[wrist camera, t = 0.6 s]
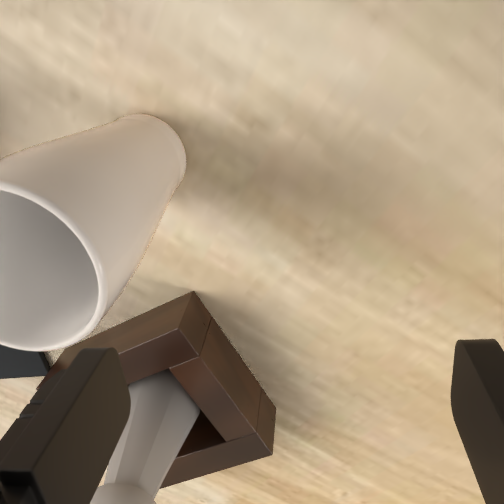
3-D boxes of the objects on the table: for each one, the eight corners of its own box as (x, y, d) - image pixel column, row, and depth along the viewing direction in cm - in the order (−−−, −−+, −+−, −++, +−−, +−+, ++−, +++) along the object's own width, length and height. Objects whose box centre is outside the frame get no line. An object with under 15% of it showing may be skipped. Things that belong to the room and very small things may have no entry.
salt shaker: (187, 415, 39) (137, 584, 27) (125, 385, 38) (47, 547, 26) (219, 371, 36) (178, 538, 25) (154, 338, 35) (80, 494, 24)
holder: (64, 348, 37) (35, 389, 33) (193, 290, 33) (178, 327, 29) (153, 449, 41) (137, 496, 37) (276, 408, 37) (272, 455, 33)
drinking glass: (222, 155, 28) (148, 279, 15) (156, 225, 31) (43, 384, 17) (135, 73, 26) (-36, 131, 13) (73, 155, 29) (-121, 272, 16)
